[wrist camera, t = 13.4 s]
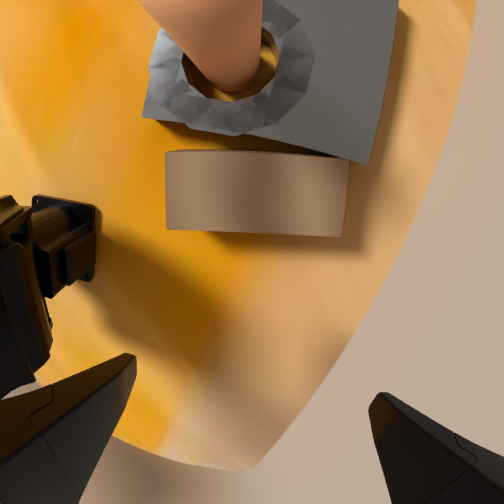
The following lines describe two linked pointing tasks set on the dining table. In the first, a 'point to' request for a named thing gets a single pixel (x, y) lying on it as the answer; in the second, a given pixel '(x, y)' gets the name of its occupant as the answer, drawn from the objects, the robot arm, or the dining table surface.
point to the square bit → (255, 192)
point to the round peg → (215, 36)
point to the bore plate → (294, 79)
